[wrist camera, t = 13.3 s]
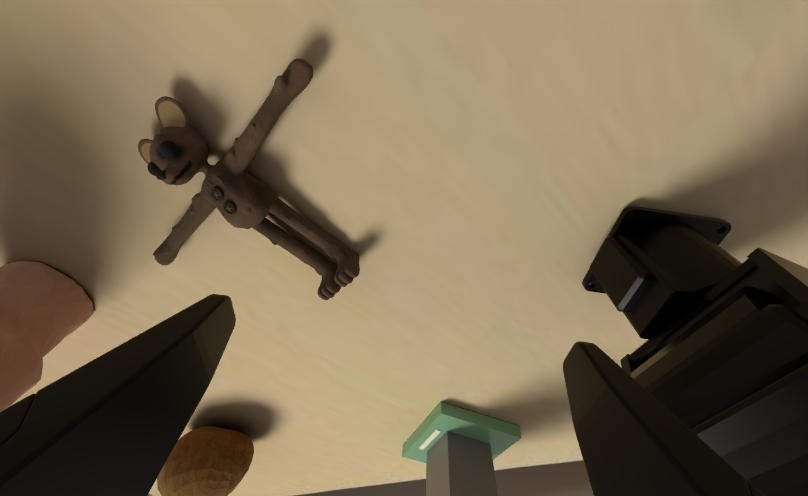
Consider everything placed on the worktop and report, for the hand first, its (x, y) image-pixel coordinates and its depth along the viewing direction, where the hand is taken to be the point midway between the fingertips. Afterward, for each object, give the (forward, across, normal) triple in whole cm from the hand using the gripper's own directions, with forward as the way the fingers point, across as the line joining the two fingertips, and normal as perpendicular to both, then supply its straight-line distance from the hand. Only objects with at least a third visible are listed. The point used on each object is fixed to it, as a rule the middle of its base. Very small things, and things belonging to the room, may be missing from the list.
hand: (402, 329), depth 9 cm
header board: (+13, -9, +30) cm, 34 cm away
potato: (+13, +18, +36) cm, 42 cm away
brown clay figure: (+14, +10, +4) cm, 17 cm away
